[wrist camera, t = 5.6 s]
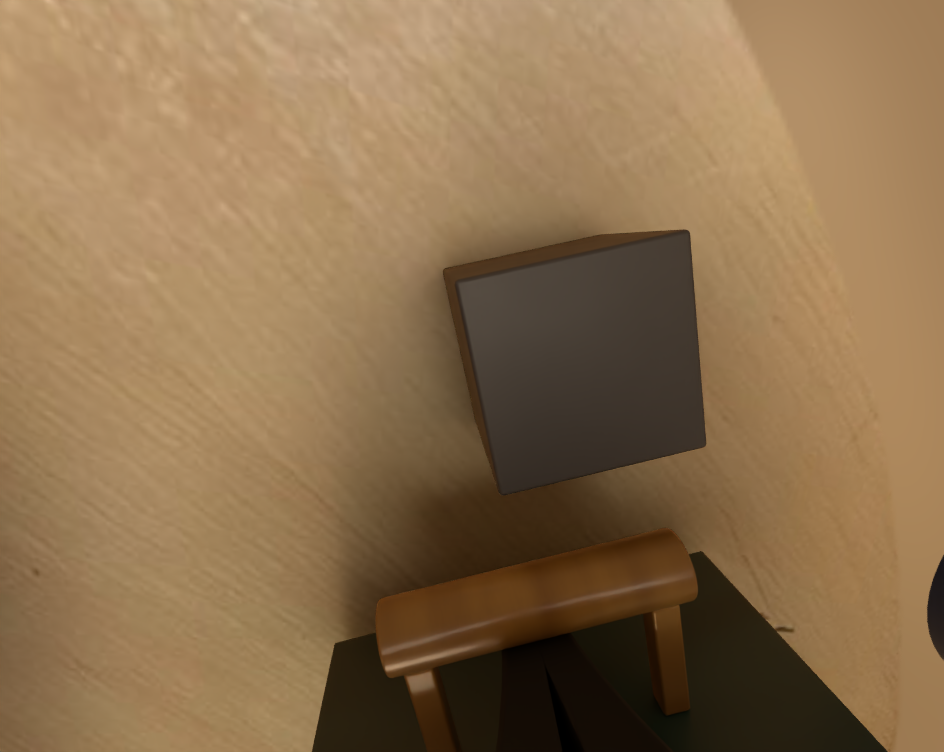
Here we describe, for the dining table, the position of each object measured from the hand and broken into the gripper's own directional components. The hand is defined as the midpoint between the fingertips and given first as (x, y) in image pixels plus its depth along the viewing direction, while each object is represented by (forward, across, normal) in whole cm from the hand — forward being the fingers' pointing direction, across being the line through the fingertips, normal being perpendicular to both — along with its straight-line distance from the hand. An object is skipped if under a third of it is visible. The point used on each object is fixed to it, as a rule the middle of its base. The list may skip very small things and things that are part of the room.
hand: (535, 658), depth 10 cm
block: (+5, -2, -6) cm, 8 cm away
